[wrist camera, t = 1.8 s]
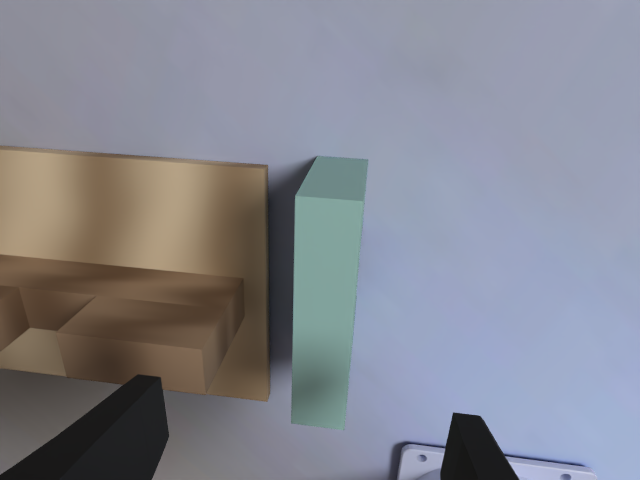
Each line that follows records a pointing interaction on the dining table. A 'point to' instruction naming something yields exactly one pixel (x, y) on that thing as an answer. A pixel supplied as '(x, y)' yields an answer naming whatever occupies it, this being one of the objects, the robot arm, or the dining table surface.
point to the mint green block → (326, 288)
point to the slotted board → (135, 270)
